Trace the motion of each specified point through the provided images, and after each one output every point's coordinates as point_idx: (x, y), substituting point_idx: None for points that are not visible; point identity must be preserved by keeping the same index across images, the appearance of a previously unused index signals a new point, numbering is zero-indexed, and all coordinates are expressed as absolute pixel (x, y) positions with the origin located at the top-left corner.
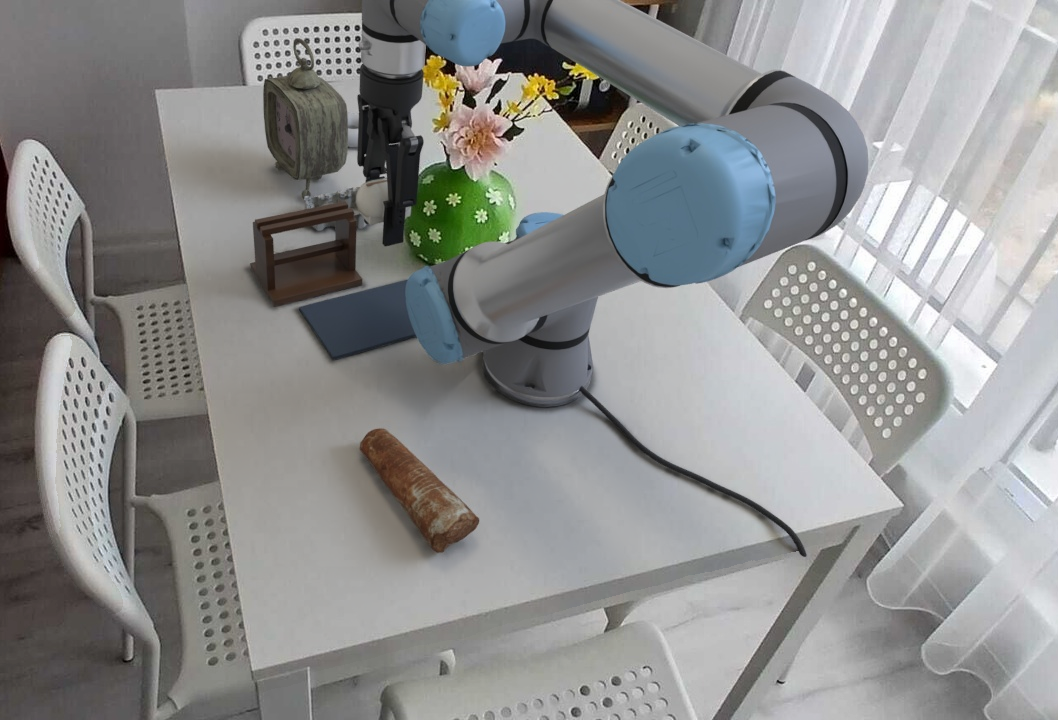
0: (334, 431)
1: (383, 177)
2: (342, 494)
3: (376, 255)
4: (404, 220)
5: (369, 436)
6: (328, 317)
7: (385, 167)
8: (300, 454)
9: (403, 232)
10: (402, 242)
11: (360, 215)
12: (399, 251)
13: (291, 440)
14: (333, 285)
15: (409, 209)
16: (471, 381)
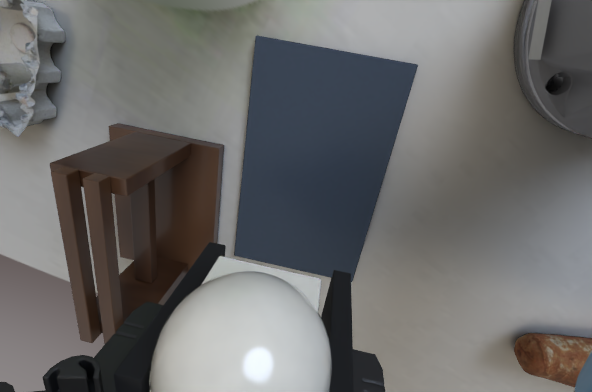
0: (456, 344)
1: (125, 383)
2: (537, 387)
3: (155, 66)
4: (383, 382)
5: (540, 375)
6: (275, 240)
7: (57, 377)
8: (455, 381)
9: (350, 299)
10: (350, 275)
11: (37, 37)
12: (158, 13)
13: (431, 376)
14: (215, 198)
15: (318, 308)
16: (544, 154)
